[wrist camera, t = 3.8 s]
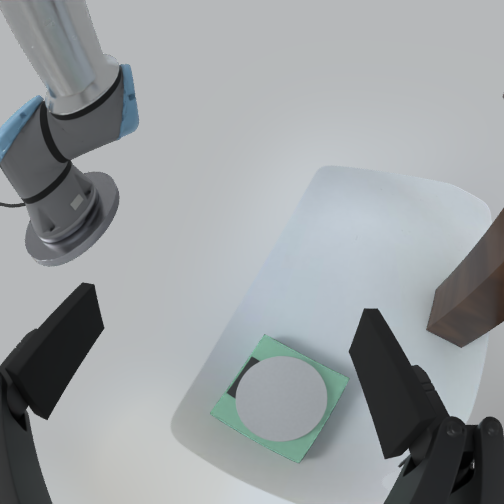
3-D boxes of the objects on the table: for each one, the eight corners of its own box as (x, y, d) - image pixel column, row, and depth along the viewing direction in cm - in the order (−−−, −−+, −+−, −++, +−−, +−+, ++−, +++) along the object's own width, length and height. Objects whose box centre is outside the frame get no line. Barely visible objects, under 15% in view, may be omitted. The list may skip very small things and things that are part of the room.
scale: (212, 413, 27) (208, 413, 25) (264, 338, 32) (264, 332, 30) (297, 461, 23) (299, 464, 21) (345, 380, 28) (351, 377, 26)
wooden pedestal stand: (388, 329, 31) (542, 124, 7) (407, 271, 36) (506, 83, 11) (457, 363, 27) (627, 226, 2) (469, 304, 32) (590, 157, 7)
